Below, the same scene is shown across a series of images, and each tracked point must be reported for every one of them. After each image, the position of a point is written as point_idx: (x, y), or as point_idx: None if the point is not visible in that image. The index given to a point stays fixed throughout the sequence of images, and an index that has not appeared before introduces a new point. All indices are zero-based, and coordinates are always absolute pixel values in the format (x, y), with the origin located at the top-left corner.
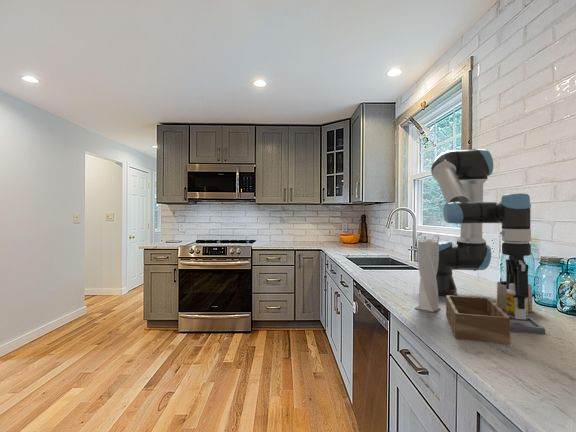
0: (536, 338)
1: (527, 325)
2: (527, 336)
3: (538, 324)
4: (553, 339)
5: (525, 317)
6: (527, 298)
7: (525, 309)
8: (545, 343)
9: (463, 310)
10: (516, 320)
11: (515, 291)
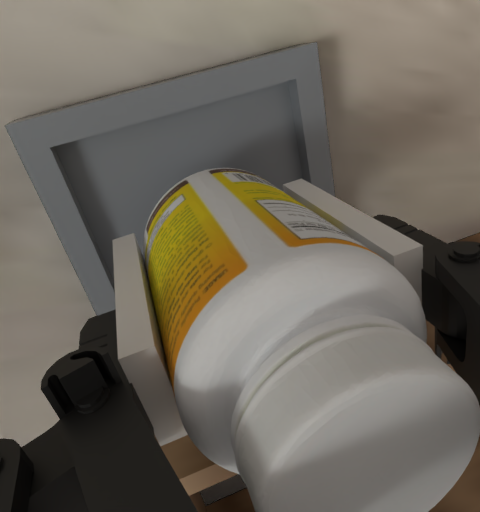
0: (409, 107)
1: (218, 156)
2: (391, 153)
3: (225, 82)
4: (393, 6)
5: (310, 185)
6: (319, 224)
7: (346, 204)
8: (476, 66)
9: (194, 500)
10: (115, 230)
11: (473, 382)
